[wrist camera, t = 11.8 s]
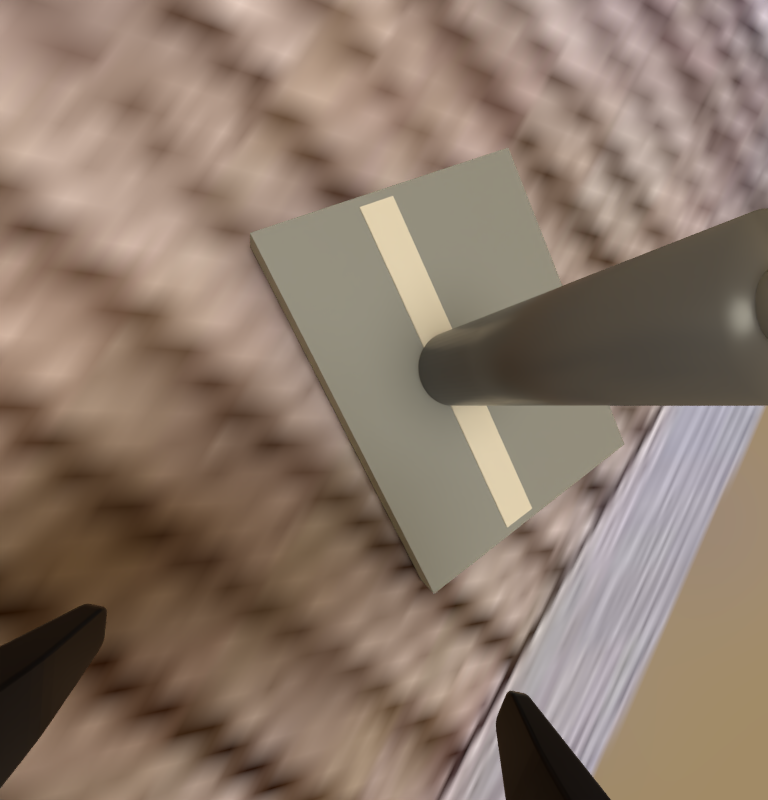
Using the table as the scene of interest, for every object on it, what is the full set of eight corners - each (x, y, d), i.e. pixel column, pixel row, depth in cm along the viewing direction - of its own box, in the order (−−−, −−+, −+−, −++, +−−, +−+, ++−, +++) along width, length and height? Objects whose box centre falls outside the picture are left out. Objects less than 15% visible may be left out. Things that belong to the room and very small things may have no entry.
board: (421, 580, 21) (435, 594, 19) (250, 246, 18) (250, 231, 16) (603, 442, 25) (625, 444, 24) (492, 163, 23) (509, 146, 21)
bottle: (469, 416, 20) (888, 438, 7) (407, 387, 19) (770, 345, 6) (492, 351, 21) (919, 253, 7) (434, 319, 19) (820, 132, 6)
